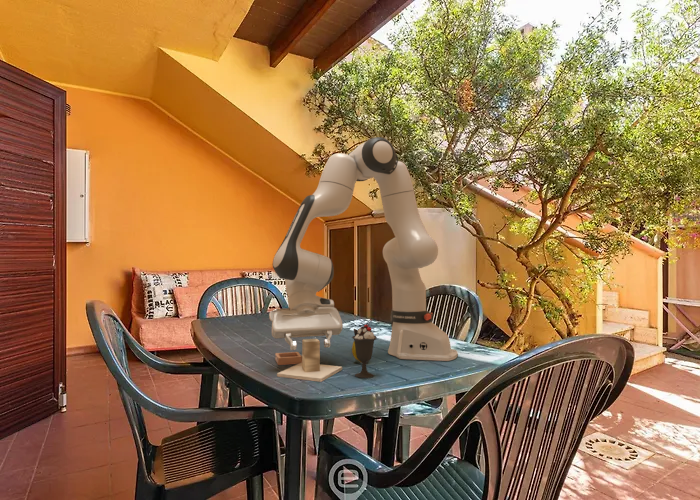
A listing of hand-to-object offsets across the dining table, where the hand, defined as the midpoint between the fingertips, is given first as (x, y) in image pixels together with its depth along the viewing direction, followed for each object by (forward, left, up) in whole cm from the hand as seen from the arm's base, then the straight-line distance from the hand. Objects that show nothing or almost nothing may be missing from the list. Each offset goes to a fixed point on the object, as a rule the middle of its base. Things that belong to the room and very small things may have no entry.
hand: (310, 347), depth 113 cm
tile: (0, +1, -7) cm, 7 cm away
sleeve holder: (+12, -8, -7) cm, 16 cm away
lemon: (-9, -15, -7) cm, 19 cm away
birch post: (0, +1, -6) cm, 6 cm away
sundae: (-15, -2, -7) cm, 17 cm away
